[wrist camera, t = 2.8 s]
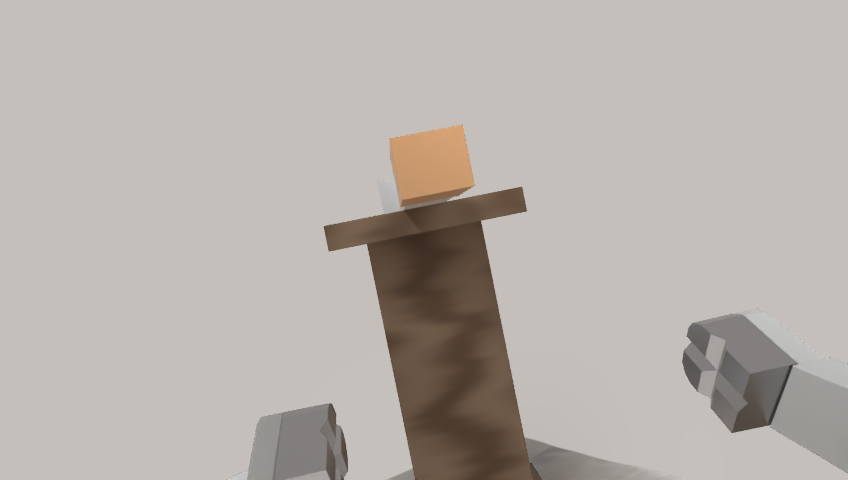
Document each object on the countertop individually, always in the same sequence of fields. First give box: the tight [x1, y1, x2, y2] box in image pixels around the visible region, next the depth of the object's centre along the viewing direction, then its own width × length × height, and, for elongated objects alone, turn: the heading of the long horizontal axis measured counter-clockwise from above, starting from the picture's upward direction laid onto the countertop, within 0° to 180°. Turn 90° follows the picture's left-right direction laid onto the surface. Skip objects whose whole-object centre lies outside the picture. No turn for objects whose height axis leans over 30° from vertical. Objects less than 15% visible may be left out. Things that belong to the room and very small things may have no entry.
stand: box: [324, 187, 542, 480], centre depth 35 cm, size 12×14×26 cm
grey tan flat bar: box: [378, 125, 475, 214], centre depth 31 cm, size 5×23×3 cm, turn 4°
